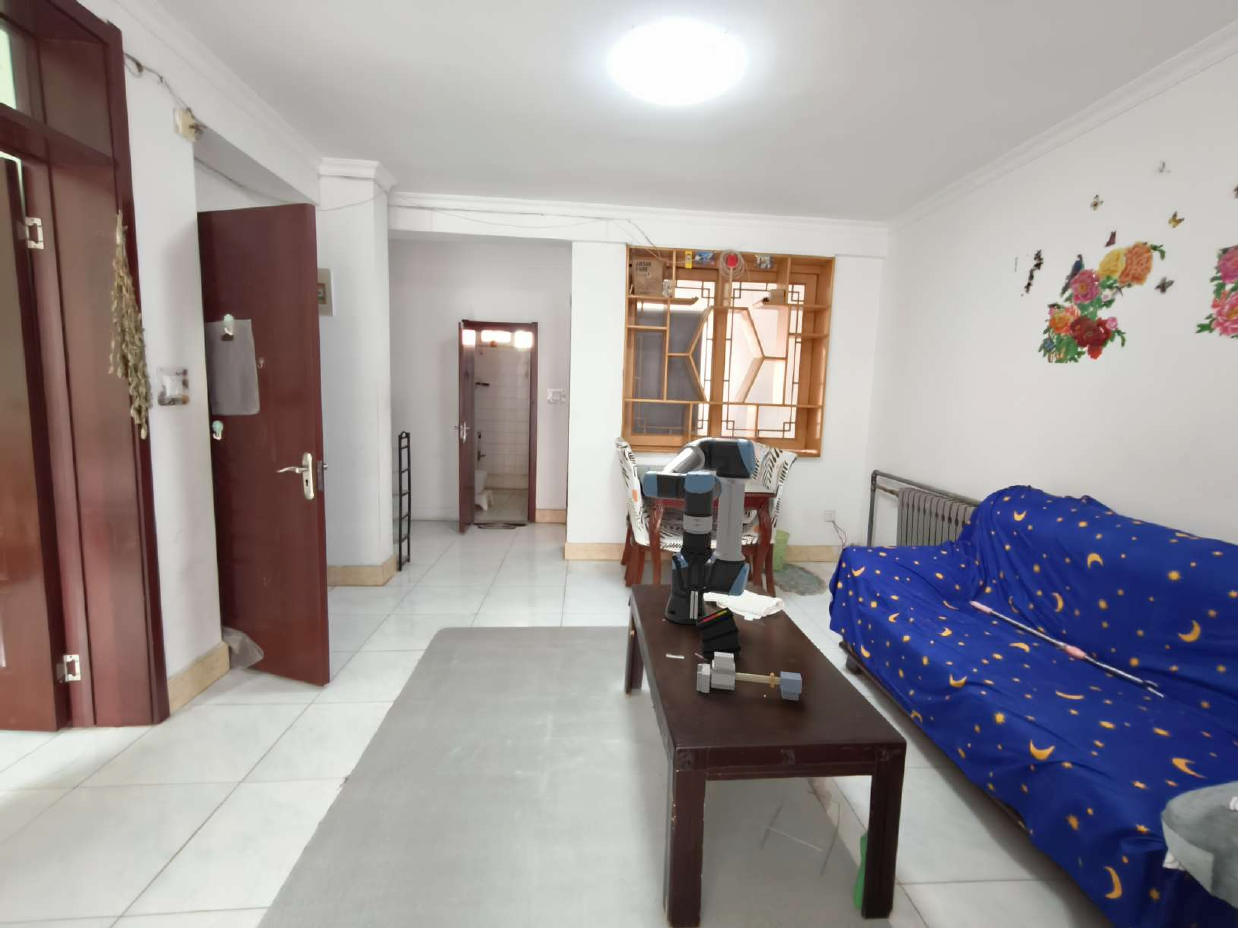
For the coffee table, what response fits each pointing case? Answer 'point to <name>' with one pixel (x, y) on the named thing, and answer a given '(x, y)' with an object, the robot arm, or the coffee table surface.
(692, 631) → the coffee table surface
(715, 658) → the white stepped block
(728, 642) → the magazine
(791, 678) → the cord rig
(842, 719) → the coffee table surface
